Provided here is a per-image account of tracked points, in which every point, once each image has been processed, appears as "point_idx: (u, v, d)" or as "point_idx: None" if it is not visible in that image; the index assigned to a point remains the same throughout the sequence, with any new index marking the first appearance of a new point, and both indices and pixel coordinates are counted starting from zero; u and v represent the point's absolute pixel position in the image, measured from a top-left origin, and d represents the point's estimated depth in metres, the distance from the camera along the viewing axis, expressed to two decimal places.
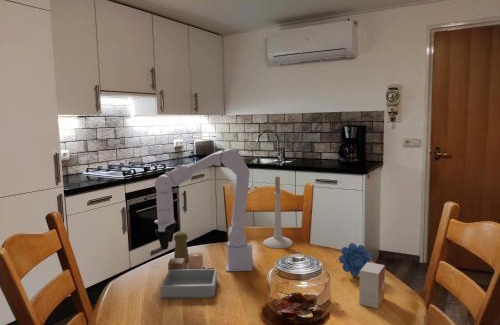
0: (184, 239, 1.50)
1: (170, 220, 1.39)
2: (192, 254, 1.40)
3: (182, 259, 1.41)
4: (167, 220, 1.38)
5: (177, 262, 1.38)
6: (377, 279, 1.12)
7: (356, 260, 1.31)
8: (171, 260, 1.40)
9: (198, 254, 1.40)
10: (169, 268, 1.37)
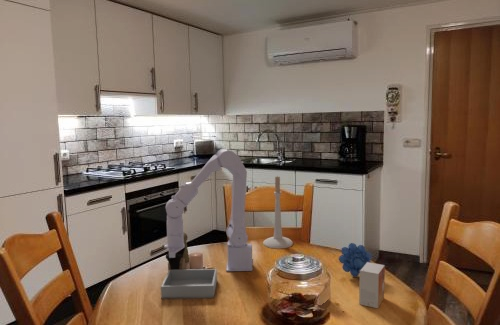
0: (184, 239, 1.50)
1: (180, 245, 1.37)
2: (192, 254, 1.40)
3: (182, 259, 1.41)
4: (177, 245, 1.36)
5: None
6: (377, 279, 1.12)
7: (356, 260, 1.31)
8: None
9: (198, 254, 1.40)
10: (169, 268, 1.37)
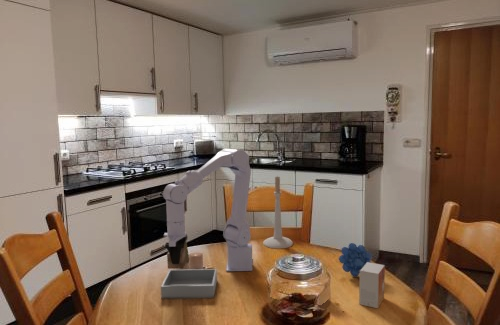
0: None
1: (181, 233, 1.27)
2: (192, 254, 1.40)
3: (182, 249, 1.31)
4: (178, 234, 1.26)
5: None
6: (377, 279, 1.12)
7: (356, 260, 1.31)
8: None
9: (198, 254, 1.39)
10: (168, 259, 1.27)
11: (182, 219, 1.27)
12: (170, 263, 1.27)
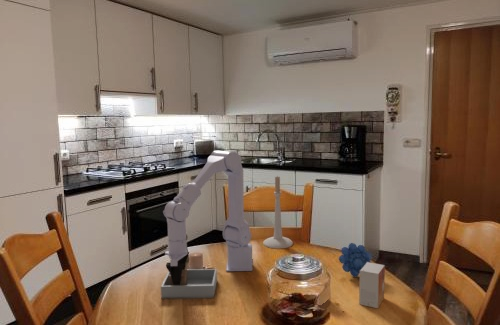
0: None
1: (183, 252, 1.24)
2: (192, 254, 1.40)
3: (184, 271, 1.28)
4: (180, 252, 1.24)
5: None
6: (377, 279, 1.12)
7: (356, 260, 1.31)
8: None
9: (198, 254, 1.40)
10: (170, 281, 1.25)
11: (184, 237, 1.24)
12: (172, 285, 1.25)
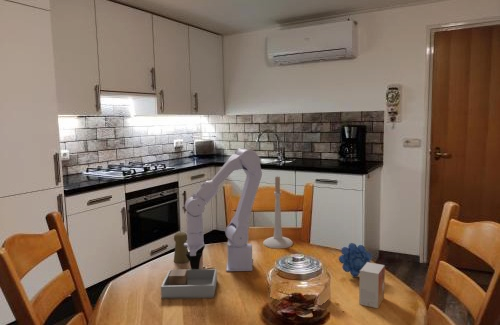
0: (184, 239, 1.50)
1: (200, 243, 1.37)
2: None
3: (184, 271, 1.28)
4: (197, 243, 1.36)
5: (178, 275, 1.25)
6: (377, 279, 1.12)
7: (356, 260, 1.31)
8: (172, 272, 1.27)
9: None
10: (170, 281, 1.25)
11: (199, 231, 1.36)
12: (172, 285, 1.25)
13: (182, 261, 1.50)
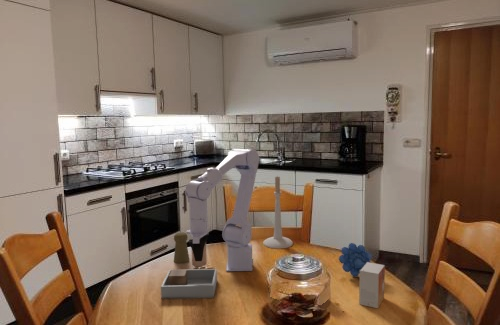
0: (184, 239, 1.50)
1: (204, 230, 1.26)
2: None
3: (184, 271, 1.28)
4: (201, 231, 1.25)
5: (178, 275, 1.25)
6: (377, 279, 1.12)
7: (356, 260, 1.31)
8: (172, 272, 1.27)
9: None
10: (170, 281, 1.25)
11: (206, 215, 1.27)
12: (172, 285, 1.25)
13: (182, 261, 1.50)
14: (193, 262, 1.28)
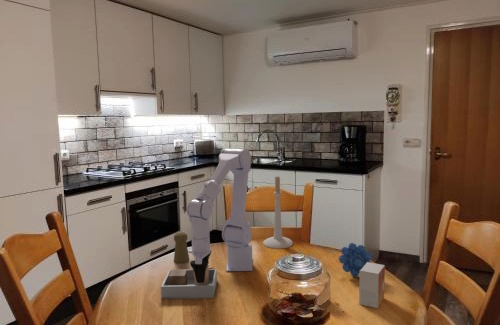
0: (184, 239, 1.50)
1: (206, 250, 1.24)
2: None
3: (184, 271, 1.28)
4: (203, 250, 1.23)
5: (178, 275, 1.25)
6: (377, 279, 1.12)
7: (356, 260, 1.31)
8: (172, 272, 1.27)
9: None
10: (170, 281, 1.25)
11: None
12: (172, 285, 1.25)
13: (182, 261, 1.50)
14: None
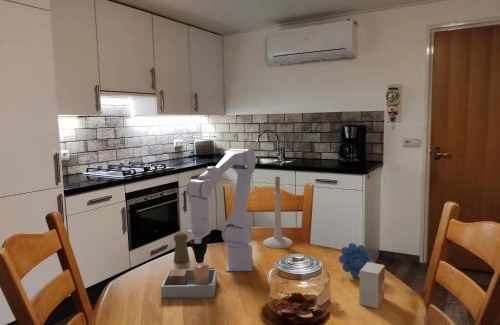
0: (184, 239, 1.50)
1: (206, 230, 1.23)
2: (197, 265, 1.27)
3: (184, 271, 1.28)
4: (203, 230, 1.23)
5: (178, 275, 1.25)
6: (377, 279, 1.12)
7: (356, 260, 1.31)
8: (172, 272, 1.27)
9: (203, 266, 1.27)
10: (170, 281, 1.25)
11: (208, 214, 1.24)
12: (172, 285, 1.25)
13: (182, 261, 1.50)
14: None
